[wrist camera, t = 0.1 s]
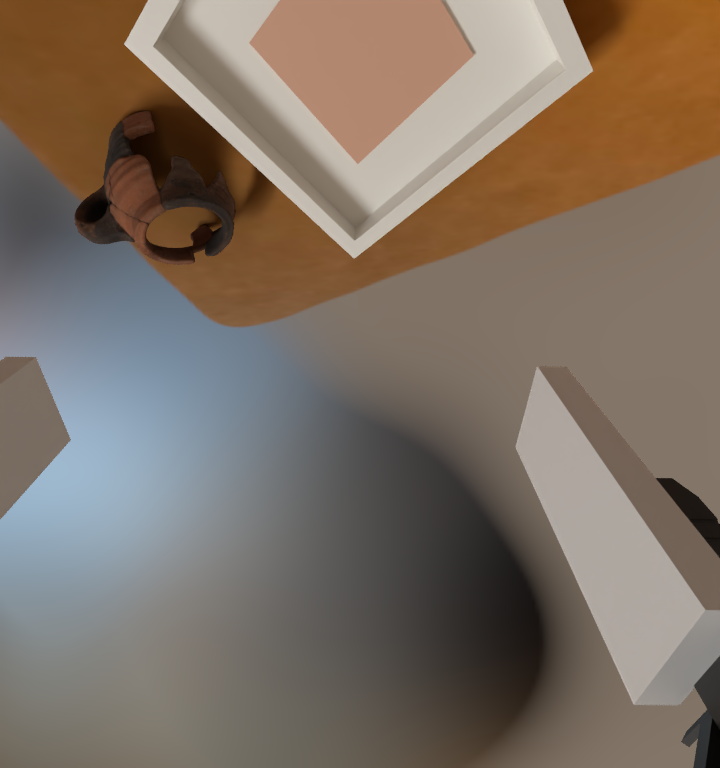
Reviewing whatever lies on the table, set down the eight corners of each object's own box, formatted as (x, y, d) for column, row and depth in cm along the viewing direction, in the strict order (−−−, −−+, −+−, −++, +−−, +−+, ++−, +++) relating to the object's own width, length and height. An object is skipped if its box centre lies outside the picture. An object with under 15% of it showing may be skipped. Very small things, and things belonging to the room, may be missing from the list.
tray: (379, -396, 17) (380, -427, 15) (578, 56, 29) (593, 70, 27) (140, 31, 28) (124, 44, 26) (354, 238, 39) (354, 258, 37)
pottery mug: (175, 77, 30) (206, 167, 28) (237, 170, 39) (264, 244, 37) (28, 152, 31) (46, 246, 29) (121, 227, 40) (140, 302, 38)
